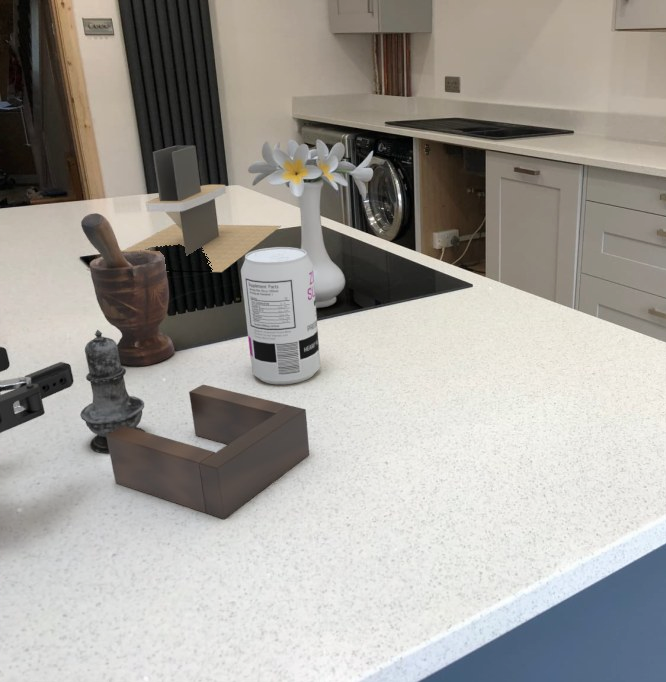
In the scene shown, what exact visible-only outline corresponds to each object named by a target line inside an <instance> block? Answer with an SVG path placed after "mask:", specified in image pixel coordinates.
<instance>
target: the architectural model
mask: <svg viewBox="0 0 666 682" xmlns="http://www.w3.org/2000/svg"><path fill="white" fill-rule="evenodd" d="M152 157H153V164H154V172H155V177H156V178H155V179H156V185H157V191H158V192H157V193H158V196H157V197H156V198H153V199H150V200H148V201H146V202H145V206H146V211H147V212H151V213H153V212H156V213H161V212H162V213H165V214H166V215H167V216H168V217H169V218H170V219H171V221H173V224H172V225H170V226H168V227H166V228H164V229H162V230H160V231H158V232H156V233H154V234H152V235H150V236H148V237H147V238H144V239H142V240H141V241H138V242H137V243H135V244H133V245H131V246H129V247H127V248H126V249H124V250H123V249H122V250H121V252H123V251H126V252H129V251H136V250H138V251H140V250H145V249H148V248H150V247H156V246H158V247H160V246H162V247H163V246H165V245H167V246H169V245H171V246H173V245H178V244H180V245H182V246H184V247H185V253H186V256H188V255H189V254H191V253H193V252H194V251H196V250H197V249H199V248H201V247H202V248H203V249H202V250H204V251H202V252H203V253H205V256H207V257H208V258H209V259H208V258H207V257H206V258H207V259H208V260H209V261H210V262H211V263H210V262H209V261H208V263H210V264H209V266H210V267H211V268H212V269H213V270H212V269H211V270H212V272H211V273H223V272H224V271H225V270H227V269H228V268H229V267H231V266H232V265H233V264H234V263H235V262H237V261H238V260H240V258H242V257H243V256H245V255H246V254H248V253H249V252H250V251H251V250H252V249H254V248H255V247H256V246H257V245H258V244H260V243H262V241H265V239H266V238H268V237H269V236H270V235H271V234H273V233H274V232H275V231H277V230H278V229H279V228H280V227H281V225H256V224H255V225H253V224H252V225H248V224H247V225H246V224H245V225H244V224H218V223H219V222H218V214H217V205H216V198H218V197H220V196H223V195H225V194H227V192H226V191H227V190H226V184H204V185H201V181H200V180H201V179H200V171H199V164H198V163H199V162H198V156H197V149H196V145H173V146H170V147H166V148H163V149H159V150H156V151H152ZM206 254H207V255H206ZM208 263H207V264H208ZM211 265H212V266H211ZM86 271H90V267H89V268H87V269H86Z"/></svg>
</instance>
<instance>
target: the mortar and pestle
mask: <svg viewBox="0 0 666 682" xmlns="http://www.w3.org/2000/svg"><path fill="white" fill-rule="evenodd" d="M80 222H81V223H80V225H81V230H82V231H83V233H84V234H85V237H86V238H87V240H88V241H89V243H90V244H91V245H92V246H93V248H94V249H95V250H96V251H97V252H98V253H99V254H100V256H99V257H98V258H94V259H93V260H91V261H90V262H89V265H88V266H89V268H90V270H89V271H90V277H91V280H92V284H93V288H94V294H95V298H96V301H97V303H98V306H99V308H100V311H101V312H102V314H103V315H104V319H105V320H106V321H107V322H108V323H109V324H110V325H111V326H113V327H115V328H116V329H117V330H118V331H119V332H120V333H121V337H120V338H119V341H118V343H116V344H117V348H118V353H119V359H120V364H122V365H127V366H130V367H138V366H142V367H143V366H149V365H153V364H156V363H159V362H162V361H164V360H167V359H168V358H170V357H172V356H173V355H174V353H175V346H174V343H173V341H172V339H171V338H170V337H169V336H168V335H166V334H163V333H162V332H160V328H159V326H160V324H161V323H162V322H163V320H164V319H165V318H166V316H167V313H168V309H169V302H170V290H169V288H170V287H169V280H168V277H167V276H168V274H167V272H168V271H166V264H165V257H164V255H163V254H162V253H161V252H160V251H150V250H141V251H138V250H136V251H129V252H126V251H123V250H121V247H120V246H119V242H118V240H117V238H116V234H115V232H114V231H115V230H114V229H113V227H112V225H111V223H110V221H109V220H108V219H107V218H106V217H105V216H104V215H102V214H100V213H97V212H96V213H89V214H87V215H85V216H84V217H83V218H82V219H81V221H80ZM121 251H123V252H121Z"/></svg>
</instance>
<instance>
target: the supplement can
mask: <svg viewBox="0 0 666 682" xmlns="http://www.w3.org/2000/svg"><path fill="white" fill-rule="evenodd" d="M240 275H241V286H242V294H243V303H244V313H245V321H246V329H247V338H248V347H249V355H250V357H249V358H250V365H251V373H252V374H253V375H254V376H255V377H256V378H258V379H259V380H260V381H262V382H264V383H266V384H271V385H292V384H297V383H301V382H304V381H307V380H308V379H310V378H312V377H313V376H314V375H315V374H316V372H318V370H319V369H320V368H321V357H320V344H319V329H318V318H317V317H318V315H317V308H316V302H315V288H314V275H313V264H312V262H311V261H310V259H309V257H308V256H307V253H306V251H304V250H302V249H301V248H299V247H289V246H274V247H265V248H260V249H255V250H252V251H248V252H247V253H246V254H245V255H244V262H243V263H242V266H241V269H240Z"/></svg>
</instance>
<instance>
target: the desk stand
mask: <svg viewBox="0 0 666 682" xmlns="http://www.w3.org/2000/svg"><path fill="white" fill-rule="evenodd" d="M188 394H189V402H190V408H191V415H192V421H193V428H194V429H193V430H194V434H195V436H197V437H200V438H204V439H207V440H210V441H215V442H218V443H221V444H225V446H223V447H222V448H221V449H219V450H217V451H213V450H209V449H205V448H202V447H199V446H195V445H191V444H188V443H185V442H181V441H178V440H175V439H171V438H168V437H164V436H161V435H157V434H153V433H150V432H146V431H145V430H144V431H145V432H144V431H140V430H137V429H133V428H130V427H126V426H123V427H121V428H119V429H117V430H115V431H113V432H111V433H109V434H107V435H106V437H107V442H108V447H109V452H110V453H109V457H110V462H111V467H112V472H113V477H114V482H115V483H116V484H118V485H121V486H124V487H127V488H130V489H132V490H136V491H139V492H141V493H145V494H147V495H151V496H154V497H157V498H160V499H163V500H166V501H169V502H172V503H173V504H174V503H175V504H177V505H181V506H184V507H186V508H190V509H192V510H195V511H199V512H202V513H205V514H206V515H207V514H208V515H211V516H214V517H217V518H219V519H222V520H225V519H226V518H228V517H229V516H230V515H232V514H233V513H235V511H237V510H238V509H240V508H241V507H242V506H243V505H245V504H246V503H248V502H249V501H250V500H251V499H253V498H254V497H255V496H257V495H258V494H259V493H261V492H263V491H264V490H265V489H266V488H268V487H269V486H270V485H271V484H273V483H274V482H276V481H277V480H278V479H279V478H281V477H282V476H283V475H285V474H286V473H287V472H289V471H290V470H291V469H292V468H294V467H295V466H296V465H298V464H299V463H300V462H302V461H303V460H304V459H306V458H307V457H308V456H309V455H310V446H309V445H310V444H309V432H308V431H309V430H308V420H307V410H306V408H303V407H298V406H294V405H289V404H286V403H282V402H277V401H275V400H270V399H265V398H260V397H257V396H252V395H250V394H249V395H248V394H244V393H240V392H236V391H231V390H228V389H223V388H220V387H219V388H218V387H215V386H211V385H207V384H201V385H199V386H198V387H195V388H194V389H192V390H189V391H188Z"/></svg>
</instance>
